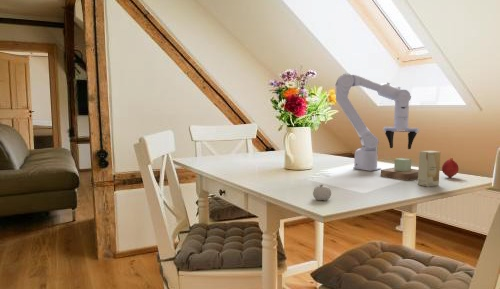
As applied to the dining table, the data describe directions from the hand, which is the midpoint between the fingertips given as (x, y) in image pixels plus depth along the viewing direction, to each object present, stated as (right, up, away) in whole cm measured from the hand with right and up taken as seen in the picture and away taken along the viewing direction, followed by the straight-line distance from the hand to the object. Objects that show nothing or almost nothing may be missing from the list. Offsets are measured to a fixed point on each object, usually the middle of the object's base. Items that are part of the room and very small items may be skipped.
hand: (400, 148), depth 173 cm
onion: (+13, -12, -18) cm, 25 cm away
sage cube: (-5, -9, -15) cm, 18 cm away
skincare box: (-2, -13, -32) cm, 34 cm away
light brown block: (-5, -11, -15) cm, 19 cm away
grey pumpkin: (-44, -16, -52) cm, 70 cm away
